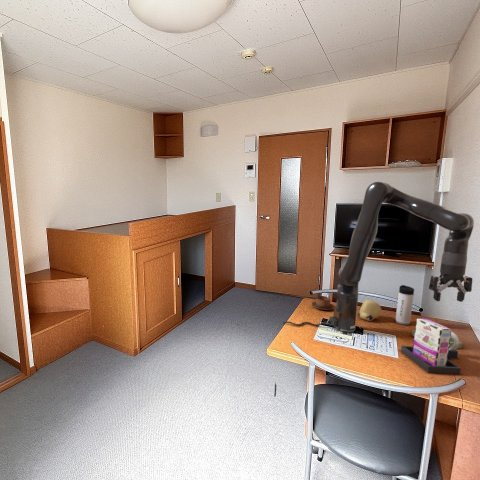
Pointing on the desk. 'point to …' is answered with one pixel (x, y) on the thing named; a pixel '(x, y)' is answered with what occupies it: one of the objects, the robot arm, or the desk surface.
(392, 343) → the desk surface
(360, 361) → the desk surface
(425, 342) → the candy bar box
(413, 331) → the sage tray
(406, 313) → the travel mug
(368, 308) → the yellow quince
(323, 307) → the cup and saucer
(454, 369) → the charcoal tray
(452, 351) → the watch
